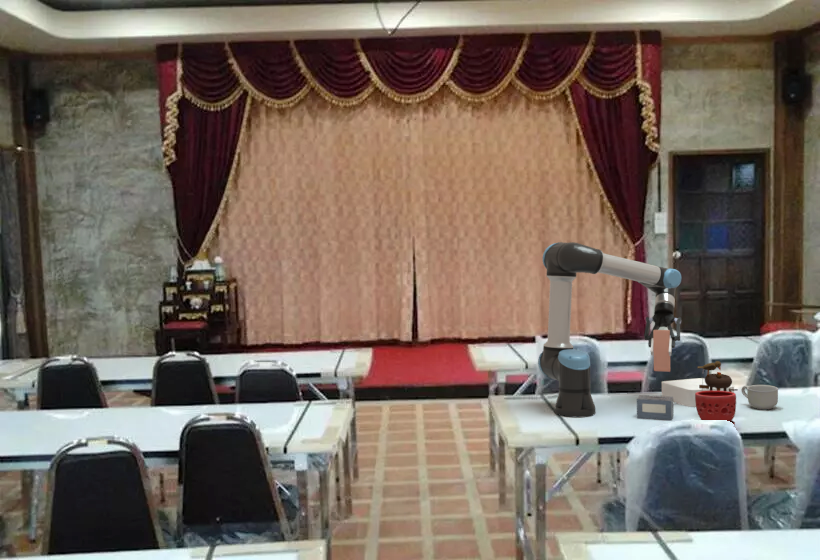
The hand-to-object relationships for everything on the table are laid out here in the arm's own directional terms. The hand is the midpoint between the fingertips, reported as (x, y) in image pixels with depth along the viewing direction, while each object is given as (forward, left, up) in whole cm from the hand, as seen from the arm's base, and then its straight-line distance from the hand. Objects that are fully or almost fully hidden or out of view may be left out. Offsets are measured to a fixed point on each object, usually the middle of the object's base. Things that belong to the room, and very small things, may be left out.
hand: (660, 353), depth 300 cm
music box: (+20, -6, -21) cm, 30 cm away
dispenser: (-1, -17, -21) cm, 27 cm away
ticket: (0, +4, -7) cm, 8 cm away
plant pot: (+20, -27, -21) cm, 40 cm away
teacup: (+34, +11, -21) cm, 42 cm away
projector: (+12, +19, -22) cm, 31 cm away
